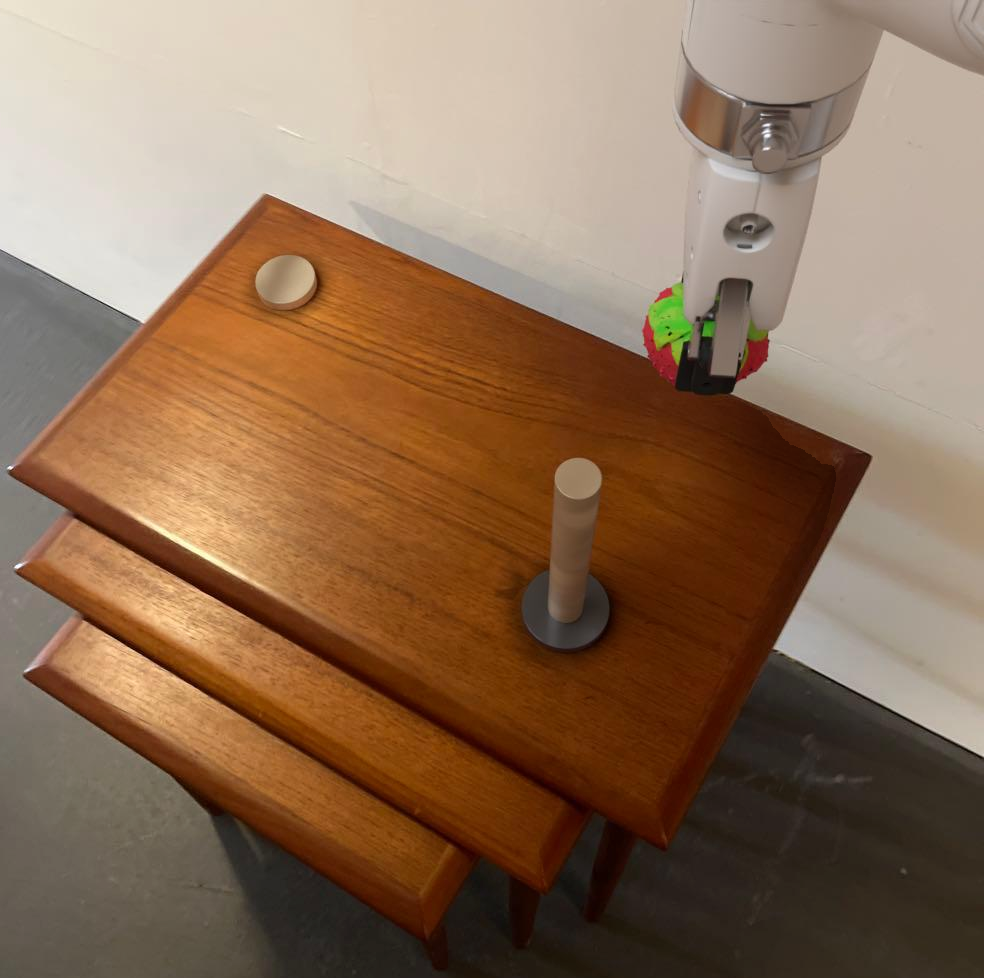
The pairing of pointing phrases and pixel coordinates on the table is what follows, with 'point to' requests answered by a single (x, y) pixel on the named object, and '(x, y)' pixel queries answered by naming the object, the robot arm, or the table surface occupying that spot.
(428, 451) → the table surface
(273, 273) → the puck
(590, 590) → the post
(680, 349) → the strawberry
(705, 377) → the robot arm
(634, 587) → the table surface
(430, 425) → the table surface
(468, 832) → the table surface
